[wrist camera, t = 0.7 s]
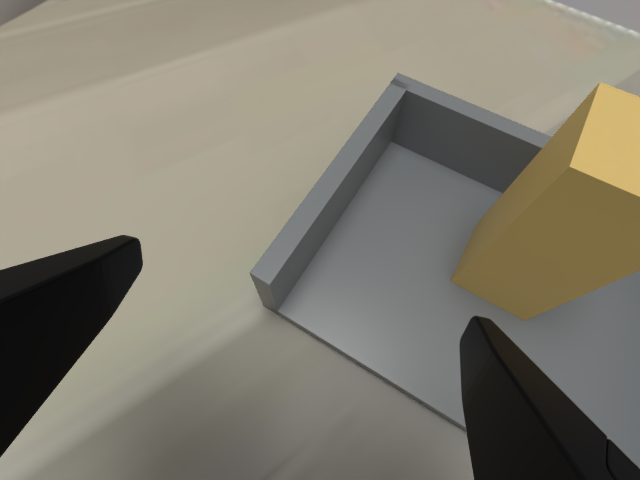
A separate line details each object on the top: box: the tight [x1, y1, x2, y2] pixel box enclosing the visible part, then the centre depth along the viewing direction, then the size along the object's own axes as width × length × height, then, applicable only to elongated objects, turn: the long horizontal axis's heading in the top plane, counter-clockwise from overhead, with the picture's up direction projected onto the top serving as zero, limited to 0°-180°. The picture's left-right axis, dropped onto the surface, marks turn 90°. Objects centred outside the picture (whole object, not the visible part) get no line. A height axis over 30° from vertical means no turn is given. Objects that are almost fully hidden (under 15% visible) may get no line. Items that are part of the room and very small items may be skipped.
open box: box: [250, 73, 640, 468], centre depth 22 cm, size 17×24×6 cm
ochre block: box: [450, 82, 640, 321], centre depth 18 cm, size 5×5×12 cm
